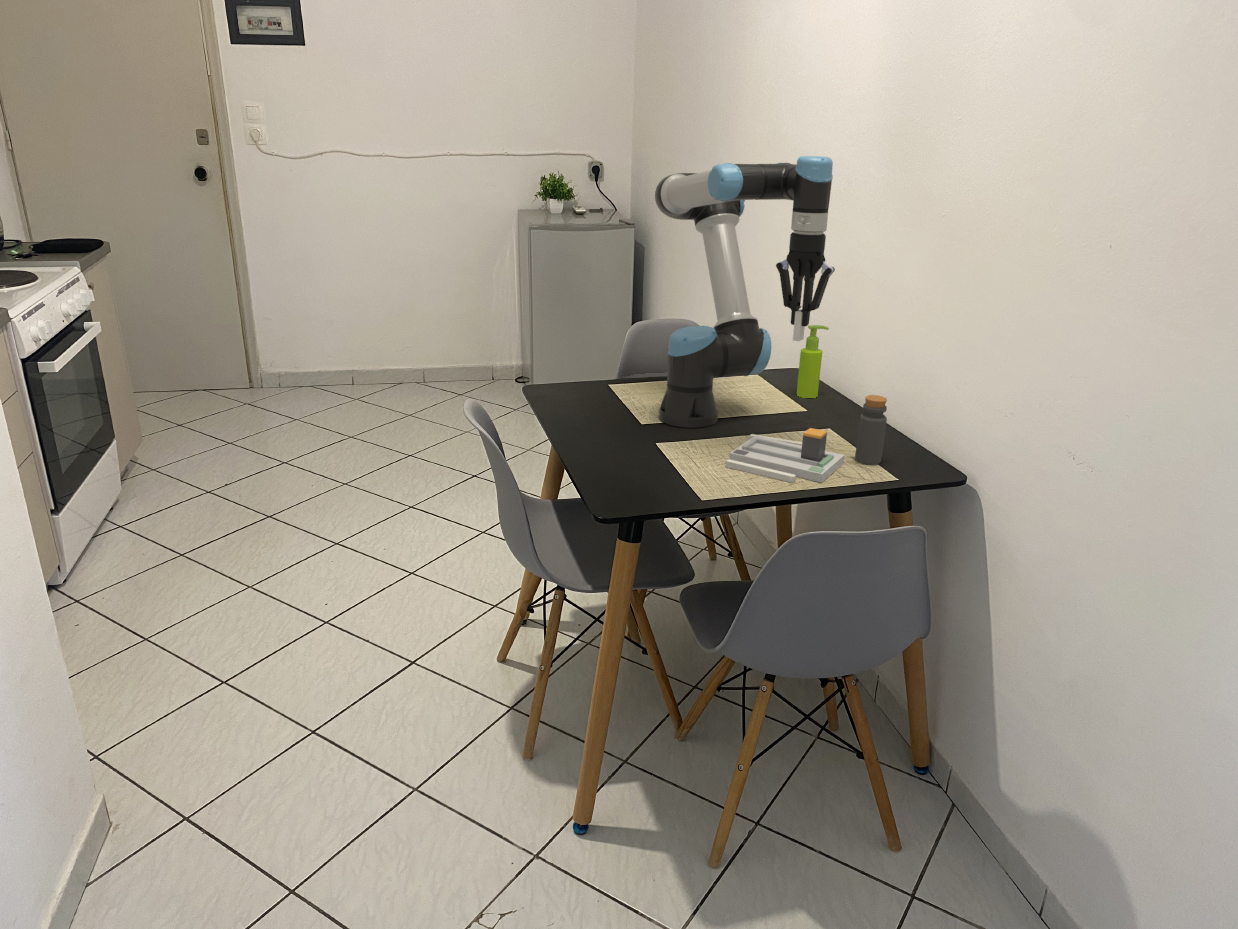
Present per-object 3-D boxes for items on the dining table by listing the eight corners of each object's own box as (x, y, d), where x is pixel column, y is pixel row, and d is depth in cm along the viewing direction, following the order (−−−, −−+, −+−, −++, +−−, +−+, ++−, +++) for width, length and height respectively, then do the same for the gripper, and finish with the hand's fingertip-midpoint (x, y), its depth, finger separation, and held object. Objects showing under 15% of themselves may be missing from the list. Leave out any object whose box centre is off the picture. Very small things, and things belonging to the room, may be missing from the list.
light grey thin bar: (749, 441, 213) (749, 435, 213) (751, 439, 215) (751, 433, 214) (806, 450, 208) (807, 445, 208) (808, 448, 209) (808, 443, 209)
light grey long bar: (725, 466, 197) (726, 461, 197) (728, 465, 199) (728, 459, 198) (792, 483, 189) (793, 476, 189) (795, 480, 191) (796, 474, 190)
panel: (729, 461, 201) (729, 449, 200) (754, 443, 212) (755, 432, 211) (821, 482, 190) (822, 470, 189) (843, 463, 201) (844, 451, 200)
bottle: (876, 467, 199) (885, 403, 194) (851, 461, 202) (859, 398, 196) (884, 459, 204) (892, 397, 198) (859, 454, 207) (867, 392, 201)
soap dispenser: (823, 399, 246) (830, 328, 239) (798, 398, 246) (805, 327, 239) (819, 392, 252) (826, 323, 244) (794, 392, 252) (801, 323, 245)
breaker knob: (800, 458, 196) (803, 432, 194) (807, 452, 200) (810, 427, 197) (817, 462, 194) (820, 436, 192) (824, 456, 198) (827, 431, 195)
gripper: (773, 231, 190) (764, 338, 199) (831, 236, 184) (819, 347, 193) (786, 228, 196) (777, 332, 205) (843, 233, 190) (831, 340, 199)
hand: (798, 339), depth 199 cm, fingers closed
